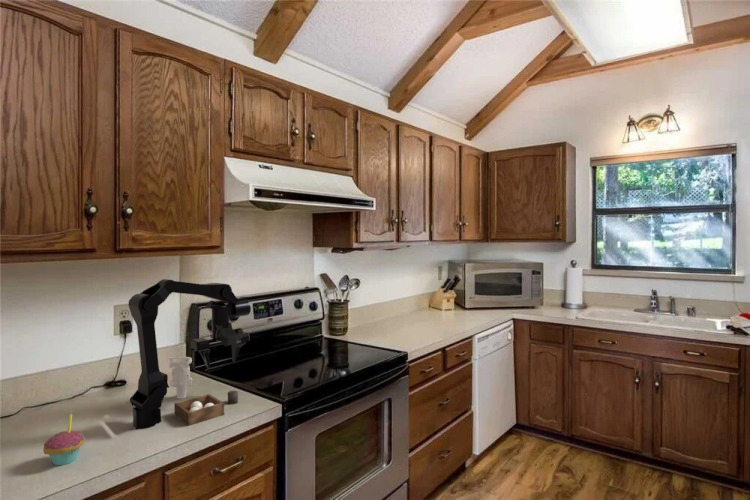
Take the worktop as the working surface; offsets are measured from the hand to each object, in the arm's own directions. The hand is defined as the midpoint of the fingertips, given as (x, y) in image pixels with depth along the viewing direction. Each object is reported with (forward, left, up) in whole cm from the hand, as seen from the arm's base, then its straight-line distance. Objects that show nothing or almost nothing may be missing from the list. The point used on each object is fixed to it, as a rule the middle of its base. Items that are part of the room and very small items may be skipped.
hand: (221, 365), depth 148 cm
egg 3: (-9, -9, -12) cm, 17 cm away
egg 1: (-11, -5, -12) cm, 17 cm away
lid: (+1, -5, -13) cm, 14 cm away
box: (-11, -7, -12) cm, 18 cm away
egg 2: (-13, -9, -12) cm, 20 cm away
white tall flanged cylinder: (-9, +12, -13) cm, 20 cm away
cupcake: (-46, -9, -13) cm, 49 cm away
